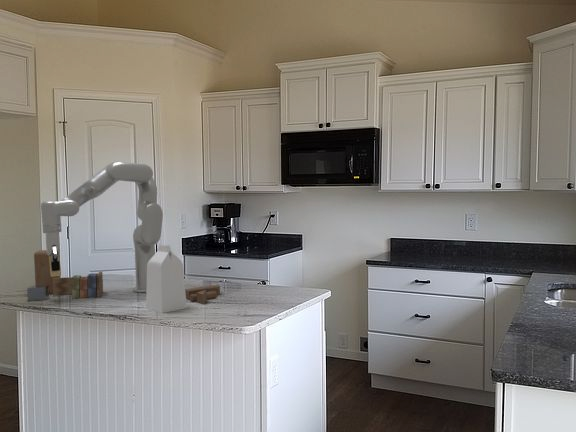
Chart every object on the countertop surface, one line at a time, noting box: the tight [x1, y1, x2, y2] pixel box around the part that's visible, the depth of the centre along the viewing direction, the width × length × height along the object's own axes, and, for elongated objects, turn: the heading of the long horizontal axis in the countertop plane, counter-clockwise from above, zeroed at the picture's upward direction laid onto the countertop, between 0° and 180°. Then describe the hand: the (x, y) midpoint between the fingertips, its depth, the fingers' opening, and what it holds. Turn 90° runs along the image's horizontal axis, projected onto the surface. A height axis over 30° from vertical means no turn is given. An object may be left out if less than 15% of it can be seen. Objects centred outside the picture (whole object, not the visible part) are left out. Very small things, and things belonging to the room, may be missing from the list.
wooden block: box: [33, 249, 61, 295], centre depth 262 cm, size 10×10×20 cm
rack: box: [52, 271, 104, 300], centre depth 252 cm, size 22×12×10 cm, turn 102°
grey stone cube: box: [26, 285, 50, 302], centre depth 246 cm, size 8×6×6 cm
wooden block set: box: [185, 284, 221, 305], centre depth 240 cm, size 17×6×18 cm
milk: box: [145, 243, 188, 314], centre depth 222 cm, size 12×12×26 cm
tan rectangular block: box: [49, 254, 62, 277], centre depth 241 cm, size 4×6×9 cm, turn 27°
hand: (55, 269), depth 241 cm, fingers closed on tan rectangular block, 6 cm apart
